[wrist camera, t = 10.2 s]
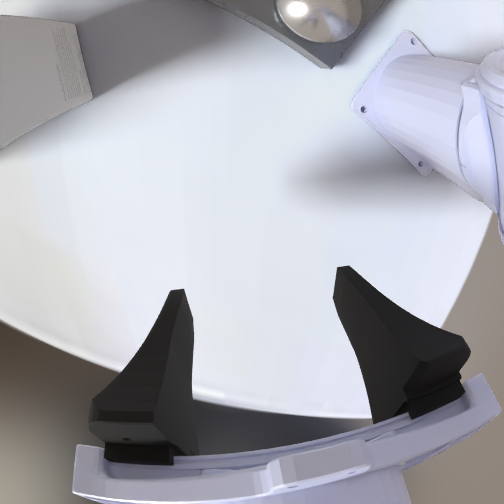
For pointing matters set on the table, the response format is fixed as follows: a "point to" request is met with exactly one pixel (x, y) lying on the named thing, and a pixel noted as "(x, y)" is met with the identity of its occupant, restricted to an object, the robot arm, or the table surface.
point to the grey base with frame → (308, 23)
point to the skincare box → (38, 73)
